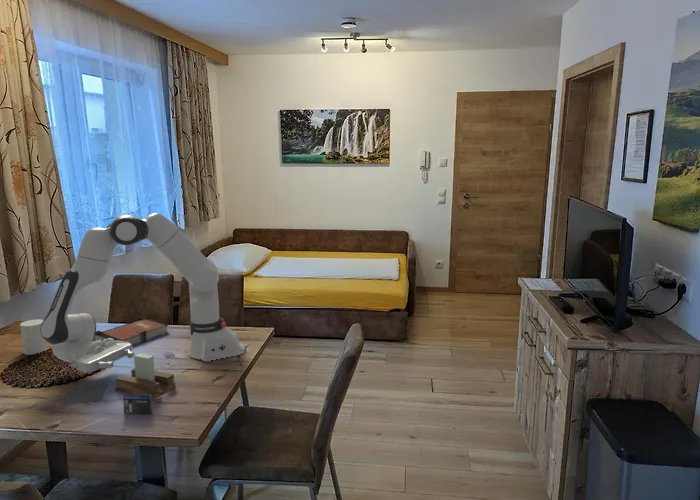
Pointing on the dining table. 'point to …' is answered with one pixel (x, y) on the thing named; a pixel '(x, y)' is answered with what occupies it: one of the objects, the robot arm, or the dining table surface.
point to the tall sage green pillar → (144, 367)
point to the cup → (32, 337)
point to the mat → (84, 394)
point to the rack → (145, 384)
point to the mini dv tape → (137, 403)
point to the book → (134, 331)
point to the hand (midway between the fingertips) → (122, 360)
